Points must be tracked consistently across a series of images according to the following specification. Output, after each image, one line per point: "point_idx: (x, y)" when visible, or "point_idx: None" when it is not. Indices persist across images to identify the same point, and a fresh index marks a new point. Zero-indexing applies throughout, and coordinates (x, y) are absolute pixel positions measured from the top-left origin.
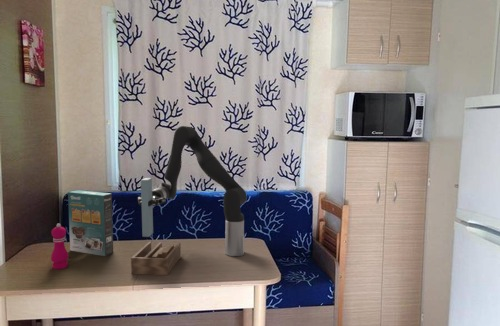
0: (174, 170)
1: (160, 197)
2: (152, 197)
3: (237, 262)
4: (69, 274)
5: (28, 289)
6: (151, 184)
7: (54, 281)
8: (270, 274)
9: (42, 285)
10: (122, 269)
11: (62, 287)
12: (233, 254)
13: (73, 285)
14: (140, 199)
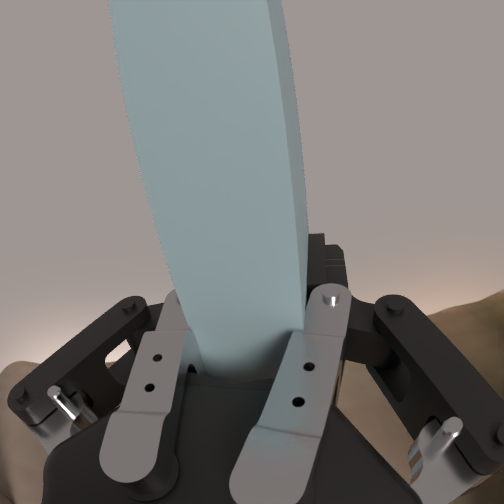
0: None
1: (50, 454)
2: (181, 344)
3: (16, 456)
4: (496, 365)
5: (497, 293)
6: (133, 60)
7: (491, 328)
8: (3, 378)
9: (493, 309)
10: (377, 435)
11: (451, 311)
12: (3, 496)
13: (438, 322)
14: (378, 299)
